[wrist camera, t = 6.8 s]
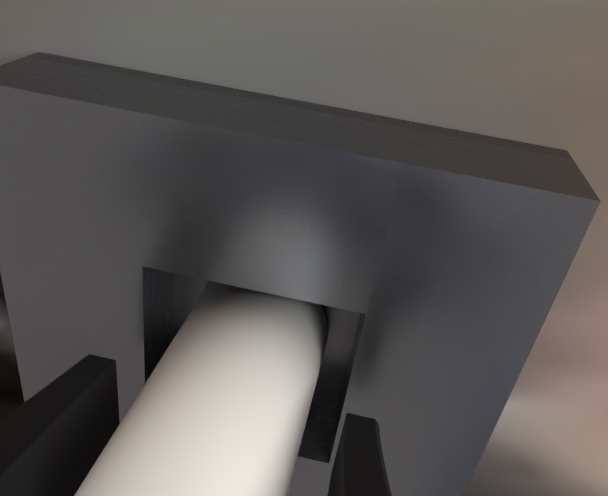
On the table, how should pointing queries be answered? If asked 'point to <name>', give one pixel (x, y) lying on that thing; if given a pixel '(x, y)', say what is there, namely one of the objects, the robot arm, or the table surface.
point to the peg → (220, 402)
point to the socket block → (284, 248)
